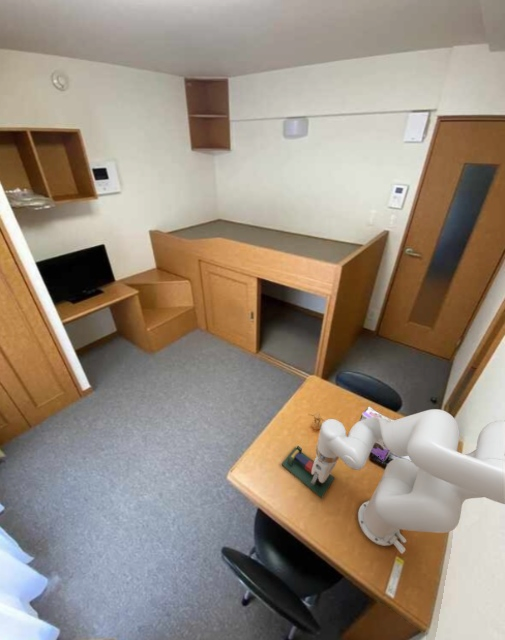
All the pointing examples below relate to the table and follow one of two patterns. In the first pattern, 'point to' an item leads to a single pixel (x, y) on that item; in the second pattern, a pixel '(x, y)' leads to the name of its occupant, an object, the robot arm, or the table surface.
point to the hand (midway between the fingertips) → (319, 479)
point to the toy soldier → (303, 461)
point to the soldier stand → (305, 474)
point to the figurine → (316, 421)
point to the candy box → (379, 445)
